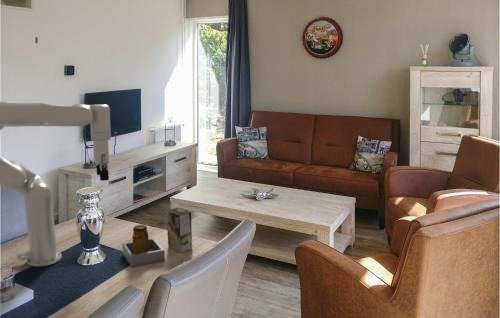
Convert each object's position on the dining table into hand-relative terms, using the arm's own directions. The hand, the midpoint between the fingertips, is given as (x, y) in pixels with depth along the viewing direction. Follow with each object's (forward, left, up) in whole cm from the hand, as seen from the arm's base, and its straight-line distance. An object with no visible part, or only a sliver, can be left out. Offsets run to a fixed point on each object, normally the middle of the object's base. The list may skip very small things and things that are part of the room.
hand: (102, 177), depth 187 cm
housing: (+11, -17, -30) cm, 36 cm away
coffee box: (+27, -15, -31) cm, 43 cm away
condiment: (+11, -18, -29) cm, 36 cm away
